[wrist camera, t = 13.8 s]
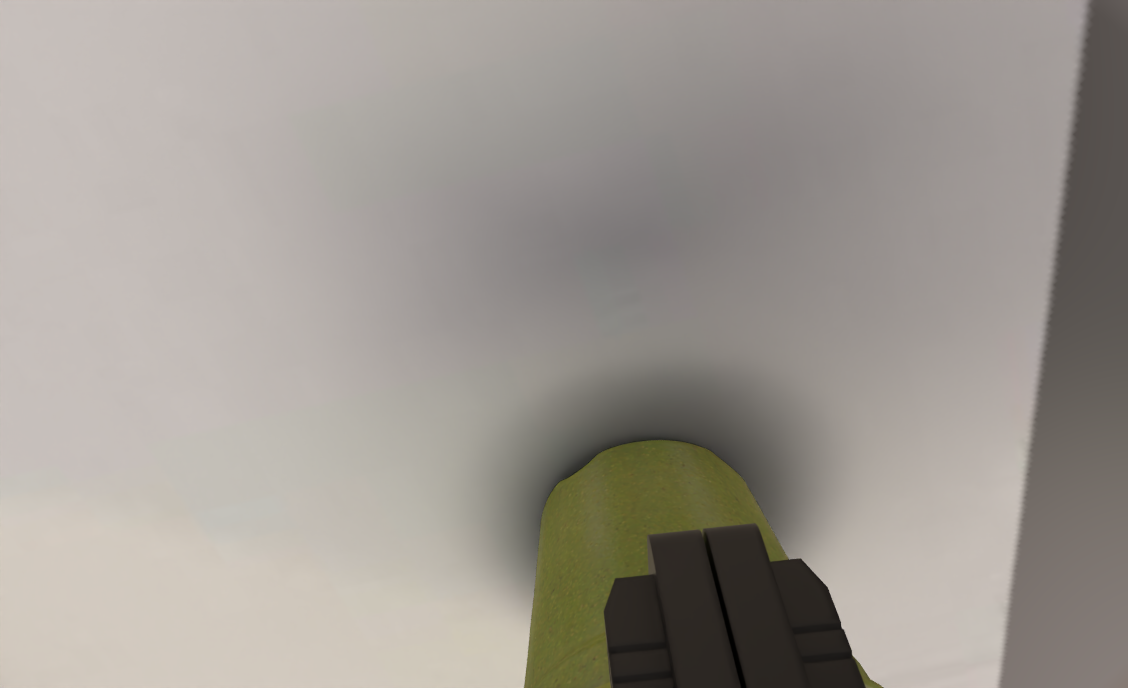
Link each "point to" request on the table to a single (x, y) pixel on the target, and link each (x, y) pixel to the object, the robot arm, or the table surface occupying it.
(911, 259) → the table surface
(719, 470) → the plant pot
